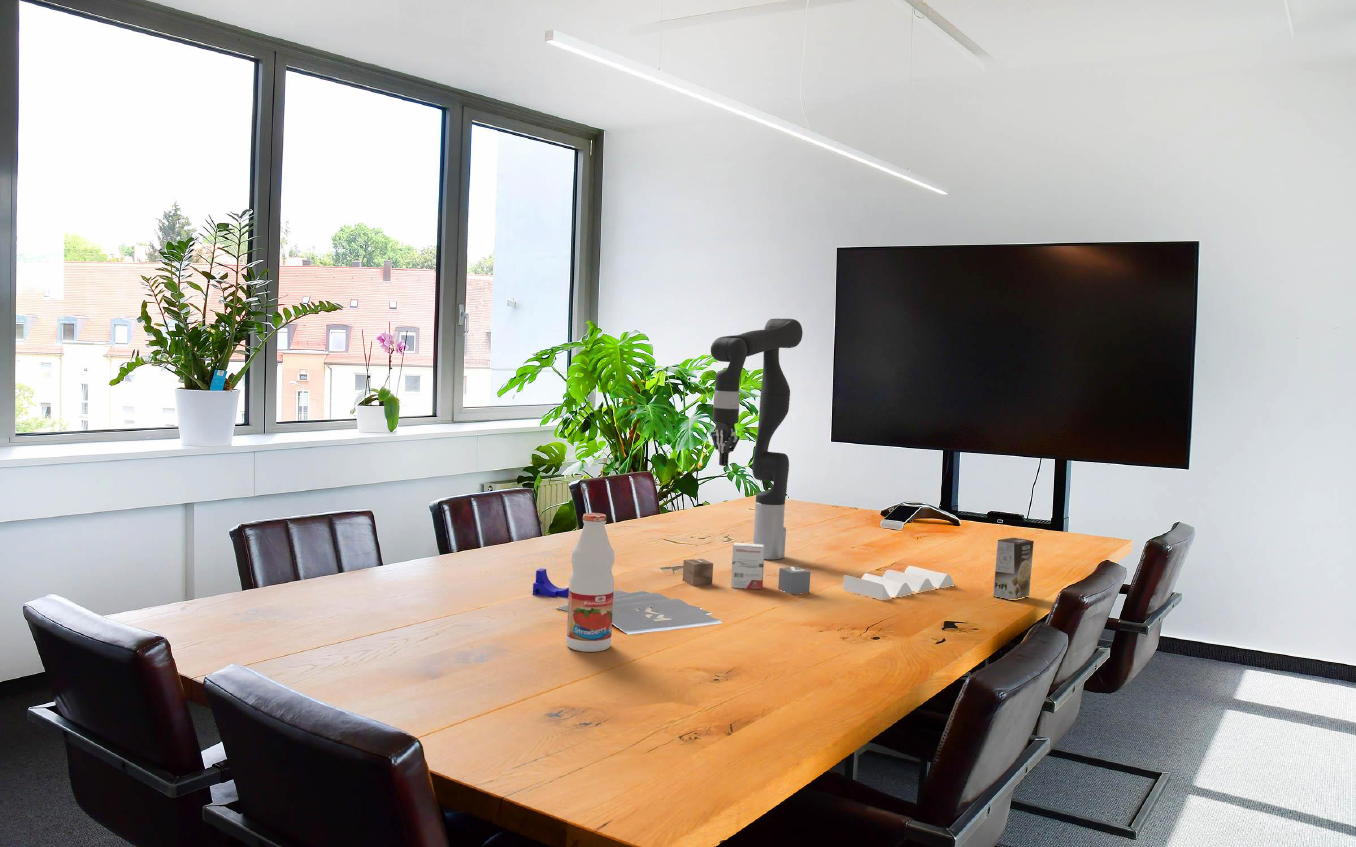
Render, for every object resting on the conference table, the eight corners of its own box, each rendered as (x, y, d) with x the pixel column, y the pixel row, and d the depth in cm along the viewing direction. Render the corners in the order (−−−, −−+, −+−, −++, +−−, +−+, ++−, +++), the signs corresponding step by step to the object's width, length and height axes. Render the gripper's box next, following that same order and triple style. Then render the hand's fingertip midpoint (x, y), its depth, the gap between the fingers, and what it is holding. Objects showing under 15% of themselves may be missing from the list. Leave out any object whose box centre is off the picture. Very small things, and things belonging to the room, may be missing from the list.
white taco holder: (956, 588, 285) (957, 570, 284) (882, 603, 261) (883, 584, 261) (917, 578, 294) (918, 561, 294) (842, 593, 271) (844, 574, 271)
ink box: (762, 586, 272) (765, 543, 271) (762, 590, 267) (764, 547, 266) (731, 583, 273) (733, 541, 272) (730, 587, 268) (732, 544, 267)
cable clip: (532, 595, 249) (533, 571, 249) (539, 591, 254) (540, 568, 253) (577, 600, 246) (578, 576, 246) (583, 596, 250) (584, 573, 250)
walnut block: (701, 579, 276) (702, 557, 275) (712, 584, 270) (713, 562, 270) (682, 581, 273) (683, 558, 272) (692, 586, 268) (694, 563, 267)
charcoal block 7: (796, 588, 271) (797, 565, 271) (809, 593, 266) (810, 570, 266) (778, 589, 269) (779, 566, 268) (790, 595, 263) (792, 571, 263)
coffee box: (1014, 602, 268) (1018, 543, 267) (992, 597, 273) (996, 539, 272) (1029, 597, 275) (1034, 540, 274) (1008, 592, 279) (1012, 536, 278)
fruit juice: (602, 638, 214) (608, 510, 212) (617, 651, 206) (623, 518, 204) (560, 641, 210) (566, 511, 209) (574, 654, 202) (580, 518, 200)
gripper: (749, 408, 283) (746, 468, 285) (725, 404, 295) (722, 462, 296) (727, 408, 280) (724, 469, 281) (703, 404, 291) (701, 463, 293)
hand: (723, 465), depth 289 cm, fingers closed
